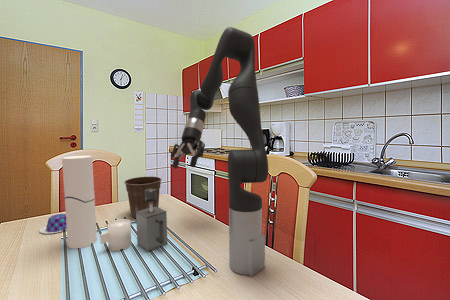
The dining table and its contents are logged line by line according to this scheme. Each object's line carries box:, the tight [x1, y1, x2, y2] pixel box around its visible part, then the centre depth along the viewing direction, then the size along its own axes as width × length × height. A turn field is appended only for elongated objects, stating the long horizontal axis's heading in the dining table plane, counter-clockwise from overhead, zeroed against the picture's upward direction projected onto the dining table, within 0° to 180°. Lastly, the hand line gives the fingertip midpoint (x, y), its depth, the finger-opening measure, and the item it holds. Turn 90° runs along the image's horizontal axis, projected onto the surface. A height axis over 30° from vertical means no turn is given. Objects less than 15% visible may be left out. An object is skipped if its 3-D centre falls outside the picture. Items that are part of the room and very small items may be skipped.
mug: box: [99, 218, 132, 252], centre depth 76 cm, size 7×9×8 cm
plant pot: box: [123, 176, 163, 219], centre depth 106 cm, size 16×16×16 cm
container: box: [61, 155, 98, 250], centre depth 79 cm, size 9×9×30 cm
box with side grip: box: [135, 206, 168, 253], centre depth 77 cm, size 10×7×12 cm
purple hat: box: [39, 213, 67, 235], centre depth 92 cm, size 12×12×5 cm
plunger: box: [145, 189, 156, 213], centre depth 78 cm, size 5×5×16 cm
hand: (183, 167), depth 87 cm, fingers open, 8 cm apart
